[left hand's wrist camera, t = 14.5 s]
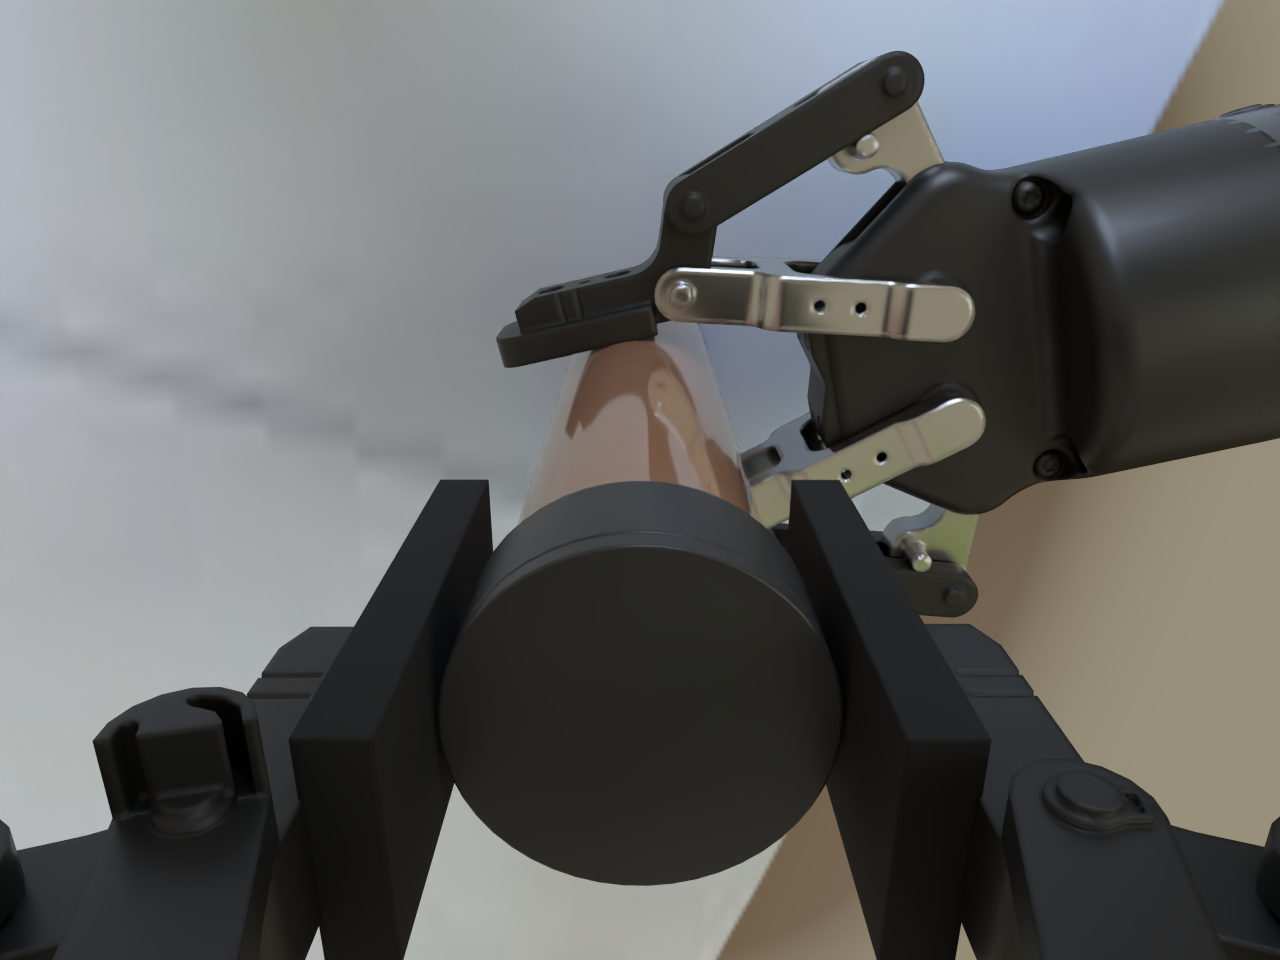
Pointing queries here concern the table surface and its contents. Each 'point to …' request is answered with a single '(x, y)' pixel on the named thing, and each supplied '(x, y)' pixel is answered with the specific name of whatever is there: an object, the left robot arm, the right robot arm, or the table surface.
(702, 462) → the pinkish beige cylinder
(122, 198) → the table surface
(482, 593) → the lid
